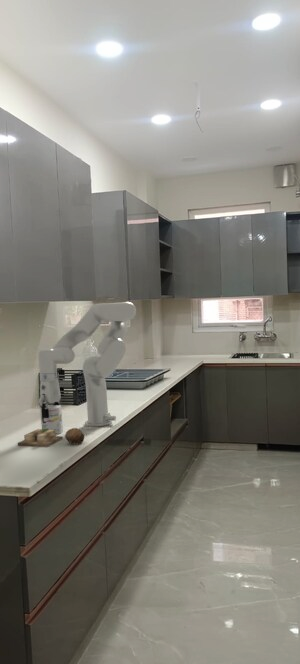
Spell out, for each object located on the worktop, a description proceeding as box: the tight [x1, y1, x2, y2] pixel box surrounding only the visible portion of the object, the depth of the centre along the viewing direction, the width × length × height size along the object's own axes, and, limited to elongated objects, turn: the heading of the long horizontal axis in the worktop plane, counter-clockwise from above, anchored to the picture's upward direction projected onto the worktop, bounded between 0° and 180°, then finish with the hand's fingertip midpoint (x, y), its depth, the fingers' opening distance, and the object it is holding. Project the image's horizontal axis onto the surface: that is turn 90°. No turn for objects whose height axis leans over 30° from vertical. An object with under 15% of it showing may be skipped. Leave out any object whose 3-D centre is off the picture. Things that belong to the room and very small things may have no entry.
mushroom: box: [64, 427, 85, 445], centre depth 204 cm, size 8×8×6 cm
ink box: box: [40, 404, 64, 435], centre depth 224 cm, size 8×5×12 cm, turn 89°
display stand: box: [17, 428, 63, 448], centre depth 209 cm, size 12×14×4 cm
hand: (51, 415), depth 224 cm, fingers open, 9 cm apart
